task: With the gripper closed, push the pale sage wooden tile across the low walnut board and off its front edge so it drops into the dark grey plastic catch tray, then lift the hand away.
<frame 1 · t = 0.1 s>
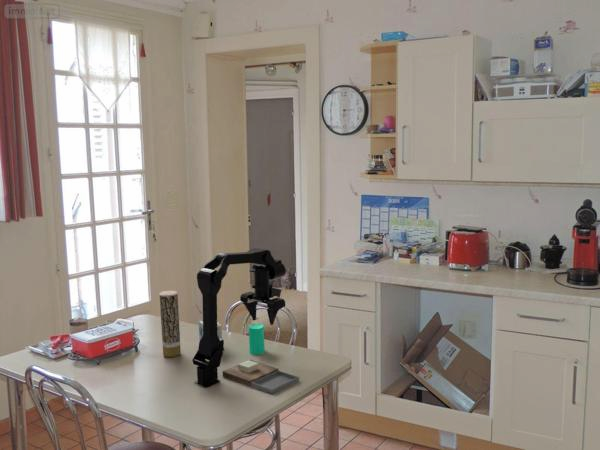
hand: (263, 322, 236), 15 cm above the table, tool pointing down, fingers open, 9 cm apart
light bulb box: (211, 349, 251), on the table
tile: (248, 369, 224), point 2 cm above the table, touching walnut board
catch tray: (275, 383, 216), on the table
candle: (257, 352, 247), on the table
brown bark cylinder: (172, 355, 246), on the table
walnut board: (250, 375, 224), on the table
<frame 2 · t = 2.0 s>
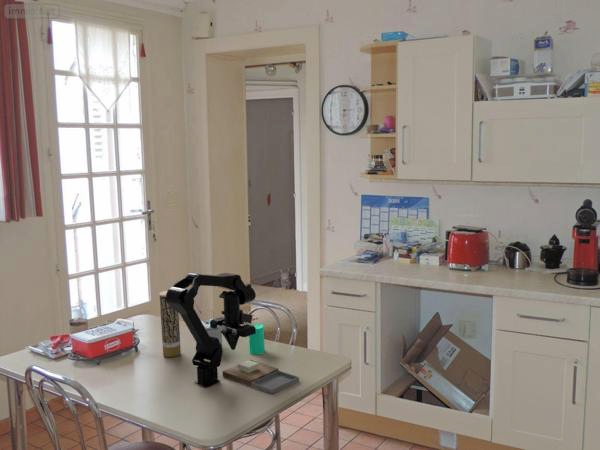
hand: (233, 349, 228), 8 cm above the table, tool pointing down, fingers closed
nothing on the table moved.
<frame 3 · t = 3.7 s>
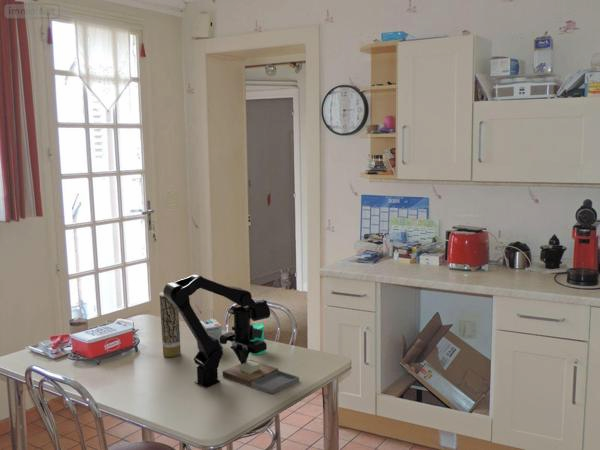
hand: (243, 365, 226), 3 cm above the table, tool pointing down, fingers closed
tile: (250, 369, 223), point 2 cm above the table, touching gripper
everything else where it was.
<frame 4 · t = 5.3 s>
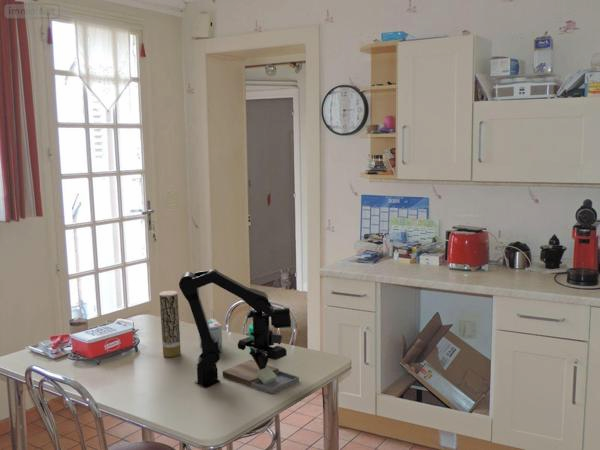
hand: (262, 371, 219), 3 cm above the table, tool pointing down, fingers closed
tile: (265, 377, 217), point 1 cm above the table, tilted 27°, touching catch tray, gripper
everything else where it was.
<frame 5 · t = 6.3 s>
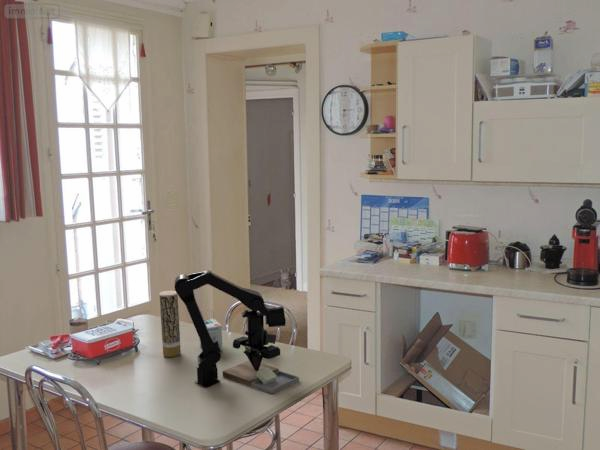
hand: (256, 370, 221), 3 cm above the table, tool pointing down, fingers closed
tile: (265, 377, 217), point 1 cm above the table, tilted 26°, touching catch tray, walnut board
everything else where it was.
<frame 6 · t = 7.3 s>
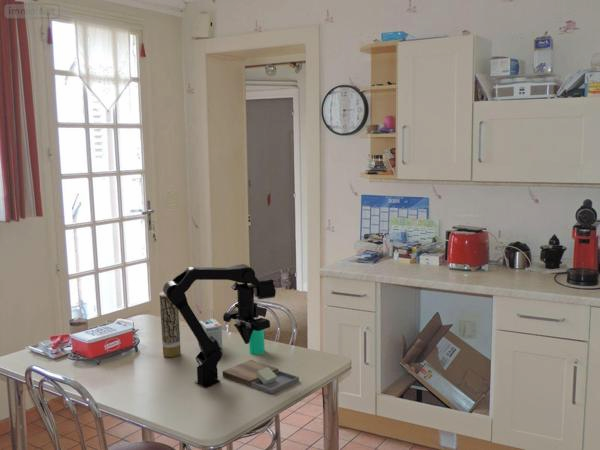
hand: (247, 343, 222), 12 cm above the table, tool pointing down, fingers closed
nothing on the table moved.
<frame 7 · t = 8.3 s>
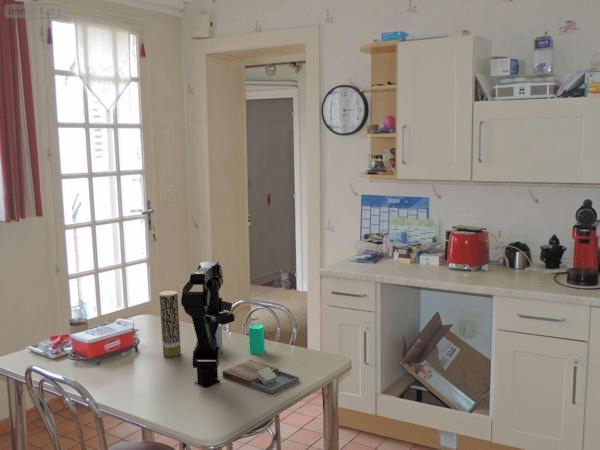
hand: (212, 337, 229), 12 cm above the table, tool pointing down, fingers closed
nothing on the table moved.
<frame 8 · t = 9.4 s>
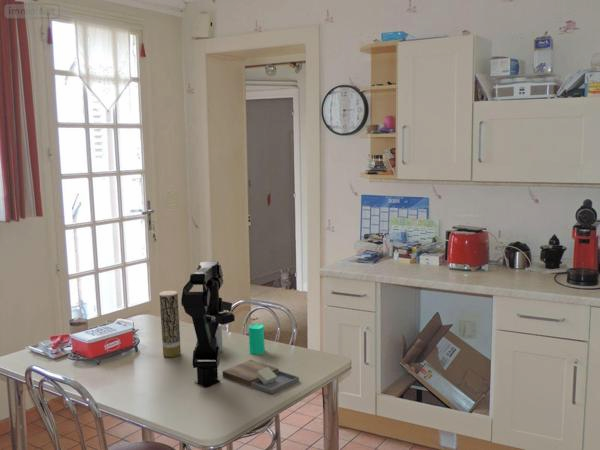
hand: (212, 337, 229), 12 cm above the table, tool pointing down, fingers closed
nothing on the table moved.
at the end: tile inside the target area on the catch tray (3.9 cm from its centre), point 1.4 cm above the catch tray's base; tile moved 9.4 cm from its start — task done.
